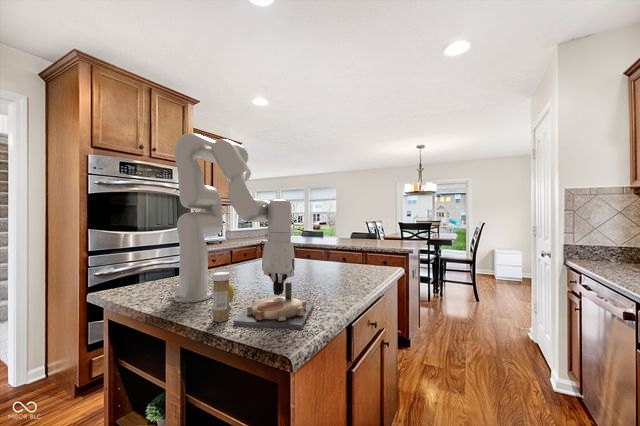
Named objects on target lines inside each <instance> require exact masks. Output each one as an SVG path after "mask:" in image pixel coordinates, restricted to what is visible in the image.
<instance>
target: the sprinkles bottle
mask: <svg viewBox="0 0 640 426" xmlns="http://www.w3.org/2000/svg"><path fill="white" fill-rule="evenodd" d="M230 279H231V278H230V272H229V271H219V272H218V271H217V272H214V273H213V274H212V281H213V286H212V287H213V292H212V298H213V299H212V310H213V311H212V313H213V315H212V317H213V318H212V321H213V322H217V323H222V322H223V323H224V322H226V321H228V320H229V319H230V303H229V284H230Z"/></svg>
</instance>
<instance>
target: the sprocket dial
mask: <svg viewBox="0 0 640 426" xmlns="http://www.w3.org/2000/svg"><path fill="white" fill-rule="evenodd" d="M292 285H293V284H292V282H290V281H289V282H285V283H284V288H285V295H284V296H277V295H271V296H270V297H266V298H265V297H264V298H261V299H258V298H256V299H253V300H252V304H250V305H247V306H246V311H247V314H253V315H254V316H256V319H258V320H262V319H279V321H281V320H286V318H289V317H293V316H296V315H299V316H301V315H303V314H304V309H305V308H306V303H307V301H306V300H305V299H304V300H301V299H299V298H296V296H293V295H292V293H293V292H292V289H293V286H292Z"/></svg>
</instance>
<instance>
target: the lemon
mask: <svg viewBox="0 0 640 426" xmlns="http://www.w3.org/2000/svg"><path fill="white" fill-rule="evenodd" d="M234 292H235V291H234V287H233V286H232V284H231V283H229V304H230V303H231V302H232V301H233V299H234V296H235V293H234Z"/></svg>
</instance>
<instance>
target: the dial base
mask: <svg viewBox="0 0 640 426" xmlns="http://www.w3.org/2000/svg"><path fill="white" fill-rule="evenodd" d="M314 308H315V305H314V302H312V303H311V302H306V308H305V309H304V314H303V315H301V316H299V315H296V316H293V317H289V318H286V320H281V321H279V319H262V320H258V319H256V316H254V315H253V314H247V310H245V311H244V312H243V313H241V314H240V315H239V316H238V317H236V318H235V319H234V320H233V323H232V324H233V326H239V327H241V326H242V327H255V328H256V327H257V328H270V329H272V328H273V329H290V330H302V329H303V327H304V325H305V323H306V322H307V320H308V318H309V316H310V314H311V313H312V311H313V310H314Z"/></svg>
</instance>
